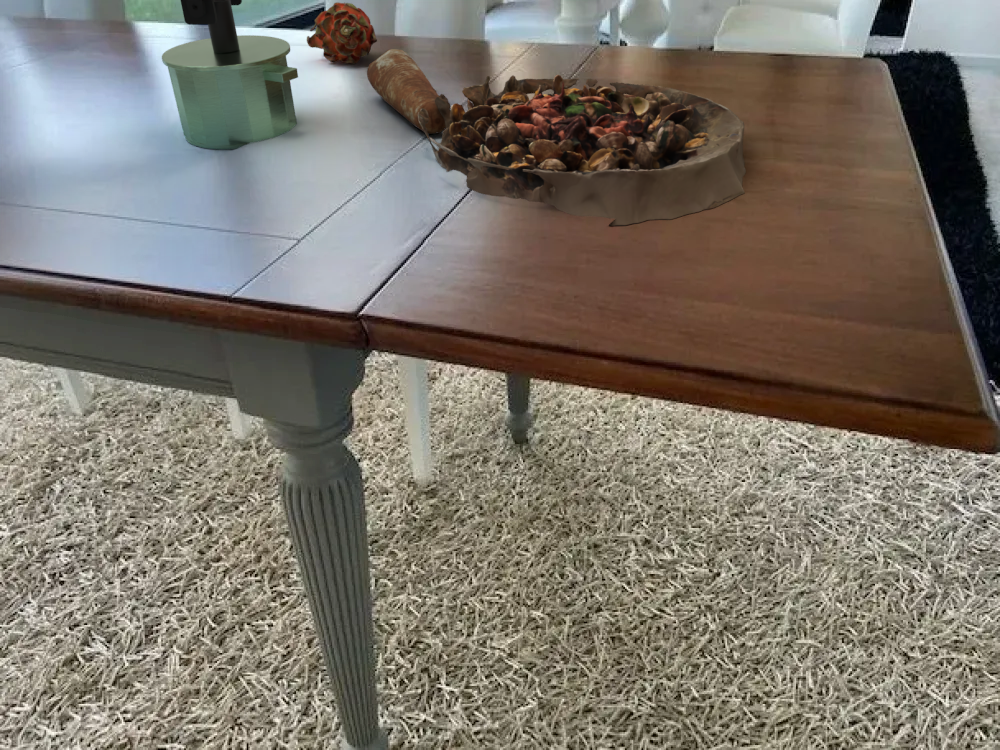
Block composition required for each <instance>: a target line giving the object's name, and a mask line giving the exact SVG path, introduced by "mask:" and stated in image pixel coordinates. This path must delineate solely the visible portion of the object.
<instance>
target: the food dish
mask: <svg viewBox="0 0 1000 750" xmlns="http://www.w3.org/2000/svg"><path fill="white" fill-rule="evenodd" d="M490 80H491V77H490V75H487V76H486V79H485V80H484V82H483V84H478V85H477V84H475V85H474V84H473V85H471V86H467V87H463V89H462V90H461V92H462V94H463V96H464V97H465V98H466V99H467V101H466V103H467V105H466V107H467V110H465V108H464V106H463V104H459V103H457V102H455V103H453V104H452V105H451V103H450V102H449V99H448V98H447V96H446V95H445V94H444V93H443V94H442V93H441V94H438V95H439V96H438V97H437V98H436V99H435V104H436V106H437V108H438V110H439V111H440V113H441V115H442V116H443V118H444V120H445V126H446V129H445V130H444V131H442V136H441V139H440V142H437V141H436V140H435V139H434V138H433V137H431V136H429V135H430V134H428V132H427V129H426V127H425V124H427V123H428V121H429V119H428V118H429V116H428V112H427V111H426V109H423V108H422V109H421V110H420V111H419V112H418V120H419V123H420V125H421V127H422V129H423V131H424V132H423V131H422V132H423V133H424V134H425V136H426V137H427V139H428V142H429V144H430V147H431V150H432V151H433V154H434V157H435V160H436V162H437V163H438V164H439V165H440V168H442V169H445V170H446V173H448V172H450V171H456V172H459V173H461V174H463V175H464V176H466V179H465V183H466V187H467V188H468V189H470V190H472V192H473V191H474V192H475V193H477V194H482V195H487V196H491V197H504V198H505V197H506V198H509V199H514V200H520V199H521V200H525V201H528V202H532V203H544V204H547V205H550V206H553V207H555V208H556V209H557V210H558V211H560V212H563V213H566V214H567V215H571V216H576V217H592V218H593V217H594V218H595V217H596V218H605V219H612V221H611V222H610V223H609V224H608V226H611V227H615V226H628V225H631V224H639V223H642V222H645V221H649V220H650V221H651V220H652V221H653V220H674V219H677V218H680V217H683V216H685V215H686V216H687V215H690V214H694V213H695V214H696V213H698V212H702V211H704V210H712V209H714V208H717V207H719V206H720V205H723V204H725V203H727V202H729V201H732V200H733V199H735V198H737V197H739V196H741V195H744V194H745V193H746V192H745V189H744V188H743V187H744V186H743V179H744V176H745V175H746V168H745V159H744V156H743V155H744V136H745V122H744V121H743V120H741V118H740V117H739V116H738V115H737V114H735V113H734V112H733V111H732V110H731V109H730V108H728V107H726V106H724V105H723V104H720V103H717V102H715V101H713V100H712V99H710V98H707V97H703V96H699V95H697V94H693V93H690V92H687V91H683V90H680V89H675V88H672V87H667V86H666V87H665V86H661V85H657V86H655V85H650V84H644V83H643V84H635V83H626V82H618V81H616V82H609V86H612V87H614V89H615V91H614V90H613V89H612V88H611V87H608V86H603V85H598V86H597V87H596V88H595V86H596V85H597V83H598V80H597V79H592V78H587V79H586V82H585V84H584V85H583V87H582V89H579V88H576V87H574V86H575V85H577V82H578V80H579V81H580V78H579V77H578V78H576V77H575V78H565V79H564V78H563V77H562V75H560V74H556V75H555V76H554V77H553V78H523V79H517V78H516V76H515V75H511V76H510V77H508V80H506V81H505V82H504V83H505V84H504V86H503V87H504V88H503V89H502V90H501V91H500V92H499V93H498V94H495V93H494V92H493V91H492V90H491V88H490ZM586 85H587V86H588V87H589V88H588V87H587V86H586ZM572 87H573V88H572ZM549 90H551V91H553V93H548V94H547V93H545V94H543V92H546V91H549ZM531 94H532V95H533V94H534V95H533V96H532V98H529V96H528V95H531ZM648 95H651V97H647V96H648ZM434 145H435V146H436V147H437V148H438V149H437V148H436V147H435V146H434Z"/></svg>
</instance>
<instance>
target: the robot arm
mask: <svg viewBox="0 0 1000 750" xmlns="http://www.w3.org/2000/svg"><path fill="white" fill-rule="evenodd" d="M230 1H231V6H240V5H241V4H242V2H243V0H230ZM180 5H181V9H182V15H183V19H184V22H185V24H187V25H208V24H215V23H216V22H217V15H216V10H215V4H214V0H180Z"/></svg>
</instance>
